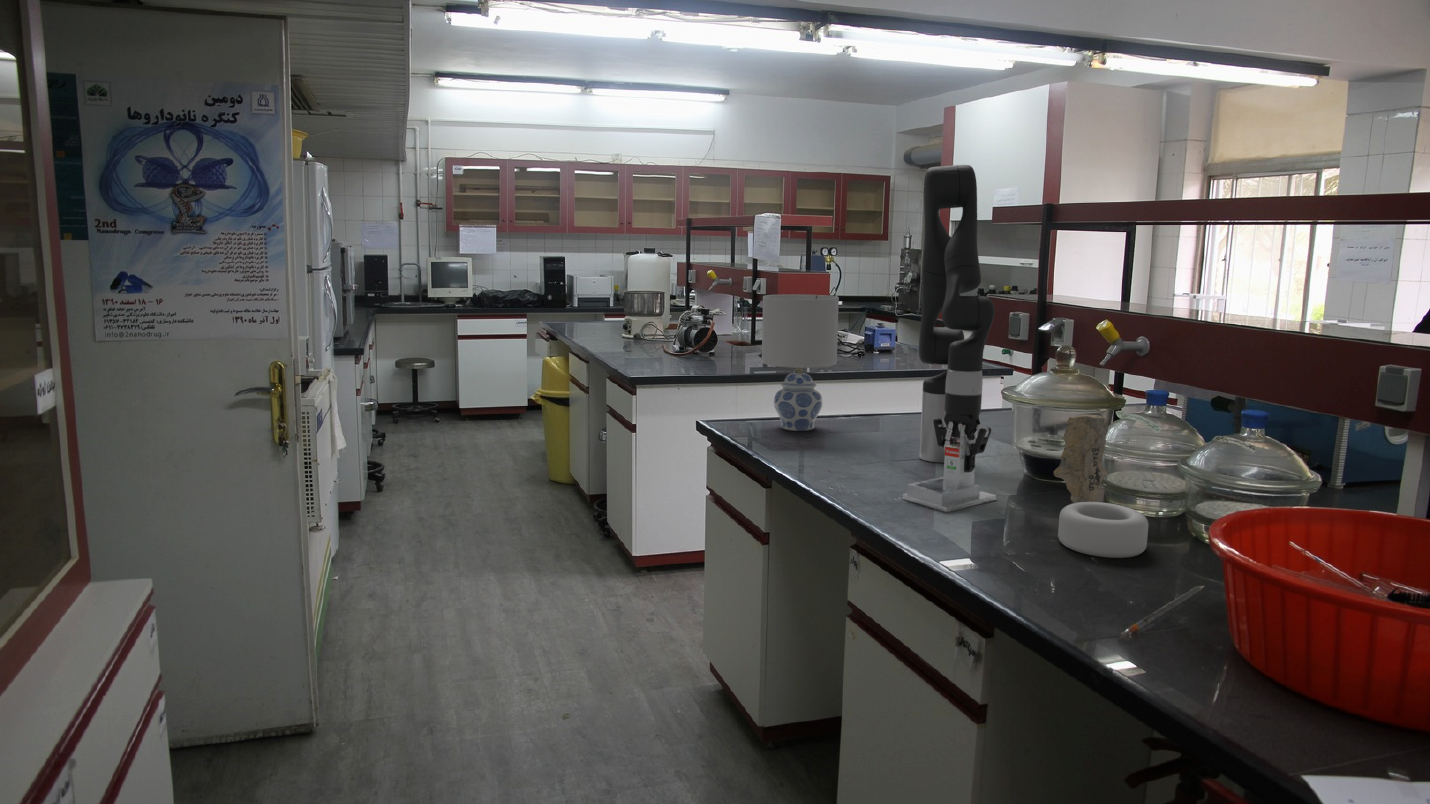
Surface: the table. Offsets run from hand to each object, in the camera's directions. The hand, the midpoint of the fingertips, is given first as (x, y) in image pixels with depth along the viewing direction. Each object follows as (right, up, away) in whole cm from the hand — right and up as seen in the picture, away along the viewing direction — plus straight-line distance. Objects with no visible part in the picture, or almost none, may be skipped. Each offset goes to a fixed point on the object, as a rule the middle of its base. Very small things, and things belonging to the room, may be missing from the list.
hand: (959, 469), depth 201 cm
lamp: (-28, +7, +73) cm, 78 cm away
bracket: (-2, -6, 0) cm, 7 cm away
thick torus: (+18, -12, -29) cm, 37 cm away
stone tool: (+23, -8, -6) cm, 25 cm away
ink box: (0, -5, +1) cm, 5 cm away
